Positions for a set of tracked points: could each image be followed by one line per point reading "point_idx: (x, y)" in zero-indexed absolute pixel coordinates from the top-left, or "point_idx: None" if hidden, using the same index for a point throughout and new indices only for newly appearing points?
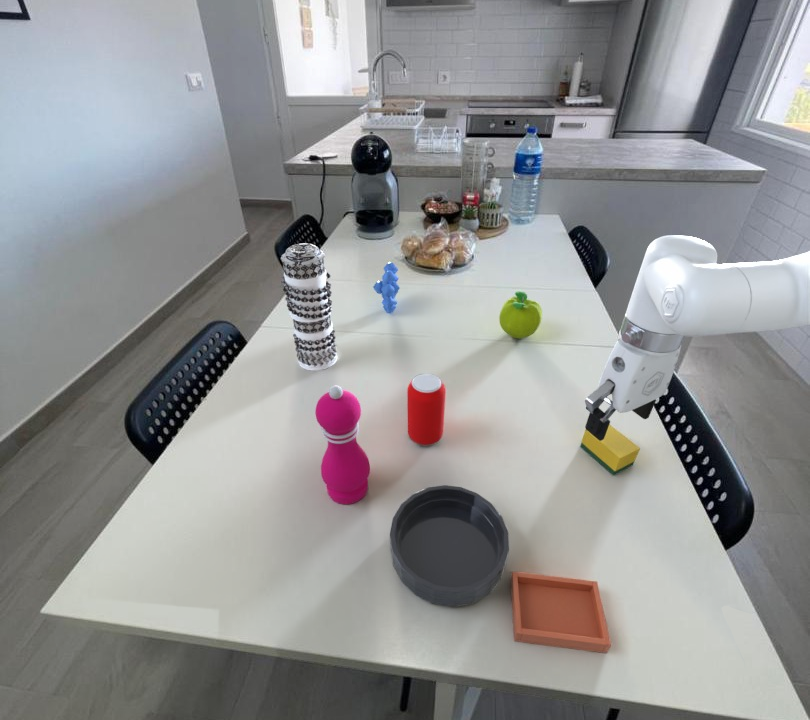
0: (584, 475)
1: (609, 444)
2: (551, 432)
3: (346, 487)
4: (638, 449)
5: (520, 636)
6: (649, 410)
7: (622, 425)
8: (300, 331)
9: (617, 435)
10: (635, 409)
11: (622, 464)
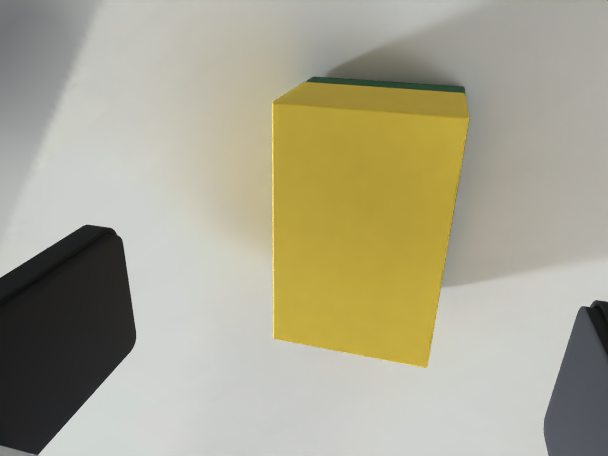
0: (592, 173)
1: (413, 229)
2: (463, 406)
3: None
4: (290, 101)
5: None
6: (48, 270)
7: (160, 254)
8: None
9: (306, 242)
10: (116, 321)
11: (415, 95)
